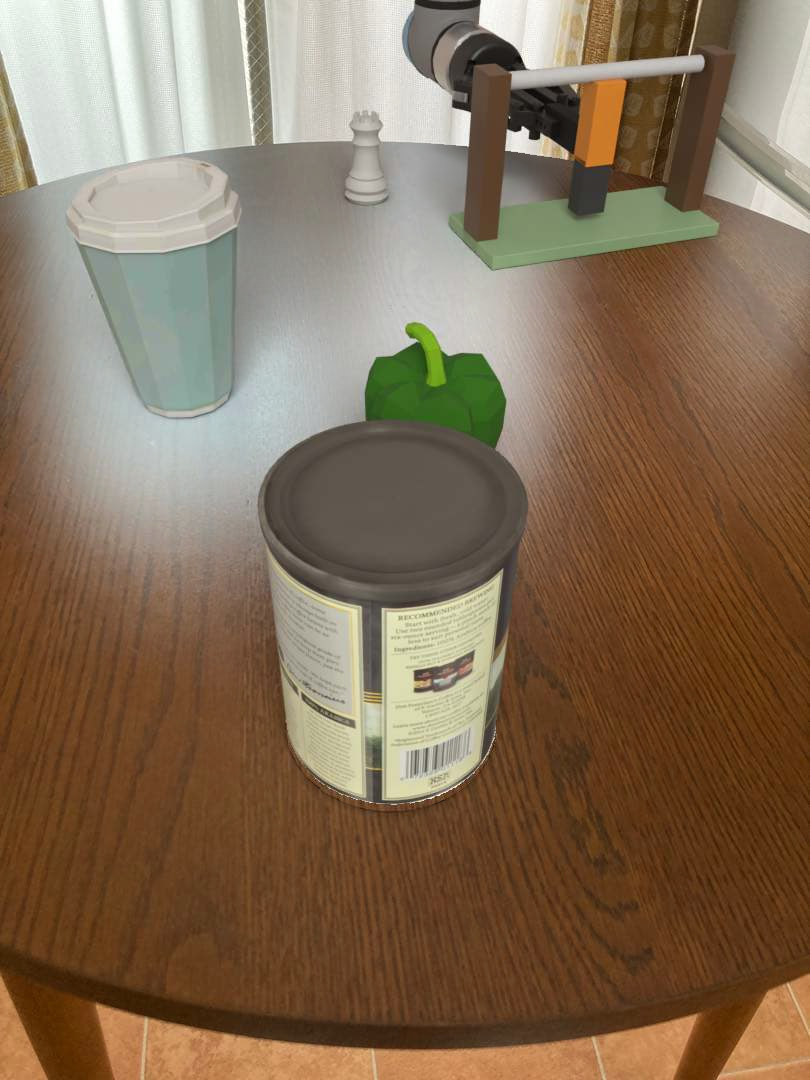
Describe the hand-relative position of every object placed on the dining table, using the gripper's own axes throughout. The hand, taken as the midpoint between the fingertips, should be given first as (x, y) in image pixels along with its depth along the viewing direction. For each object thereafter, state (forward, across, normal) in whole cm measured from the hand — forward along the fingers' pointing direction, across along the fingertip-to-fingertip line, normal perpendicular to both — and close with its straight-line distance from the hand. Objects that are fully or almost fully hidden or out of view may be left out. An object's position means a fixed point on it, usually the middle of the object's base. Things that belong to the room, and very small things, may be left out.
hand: (584, 139), depth 84 cm
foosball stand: (+2, 0, -8) cm, 8 cm away
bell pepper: (+33, +28, -8) cm, 44 cm away
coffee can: (+50, +37, -8) cm, 63 cm away
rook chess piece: (-12, +17, -8) cm, 22 cm away
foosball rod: (+2, 0, -6) cm, 6 cm away
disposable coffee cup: (+18, +41, -8) cm, 46 cm away
